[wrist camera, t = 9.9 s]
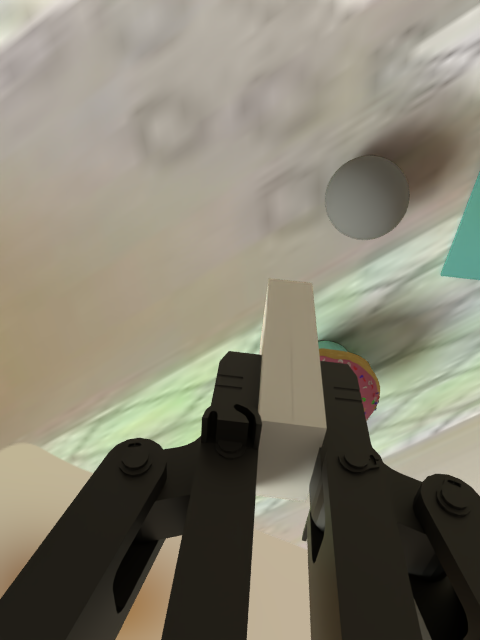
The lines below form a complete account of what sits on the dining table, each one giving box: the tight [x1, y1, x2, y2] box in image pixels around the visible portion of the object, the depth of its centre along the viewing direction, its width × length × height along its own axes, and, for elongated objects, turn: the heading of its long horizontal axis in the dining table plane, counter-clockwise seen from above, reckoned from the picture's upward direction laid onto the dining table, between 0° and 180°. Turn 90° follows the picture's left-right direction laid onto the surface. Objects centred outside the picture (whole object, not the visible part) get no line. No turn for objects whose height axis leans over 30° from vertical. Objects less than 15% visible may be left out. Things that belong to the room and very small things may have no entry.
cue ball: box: [325, 155, 410, 240], centre depth 30 cm, size 6×6×6 cm
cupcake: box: [318, 341, 380, 421], centre depth 36 cm, size 9×8×12 cm
